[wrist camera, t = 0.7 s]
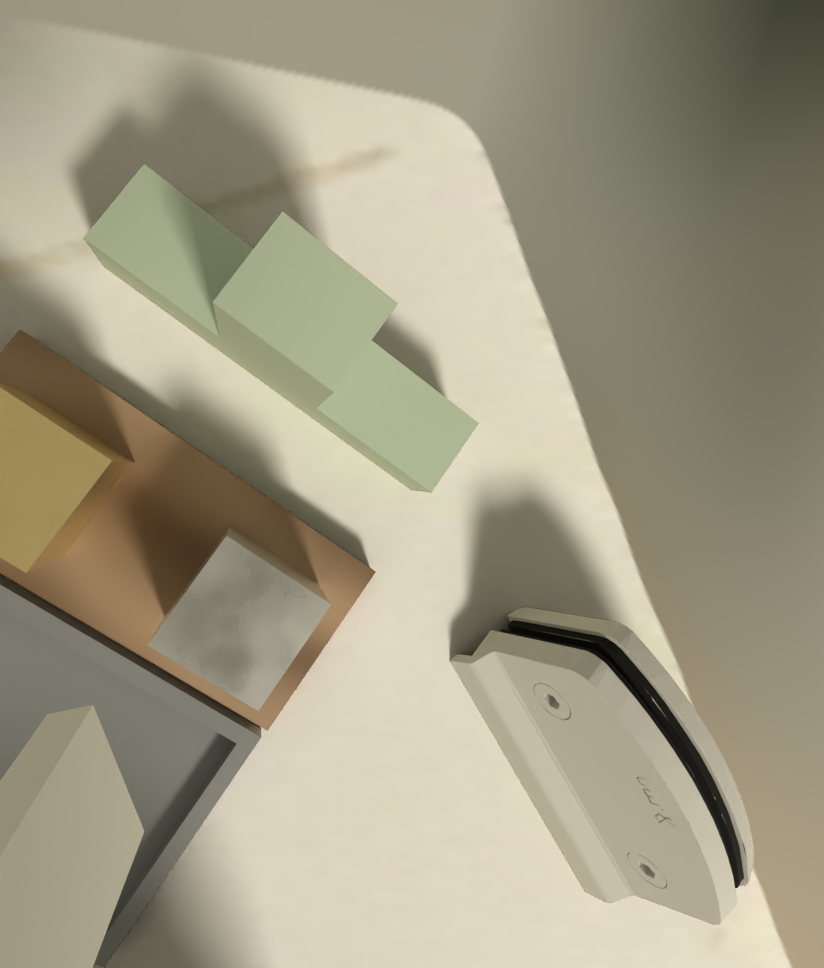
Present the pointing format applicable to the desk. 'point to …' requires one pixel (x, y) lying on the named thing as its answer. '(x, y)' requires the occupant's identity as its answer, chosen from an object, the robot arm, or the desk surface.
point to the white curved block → (613, 761)
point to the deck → (165, 529)
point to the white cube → (241, 619)
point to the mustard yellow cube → (48, 479)
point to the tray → (121, 732)
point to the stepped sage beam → (284, 323)
